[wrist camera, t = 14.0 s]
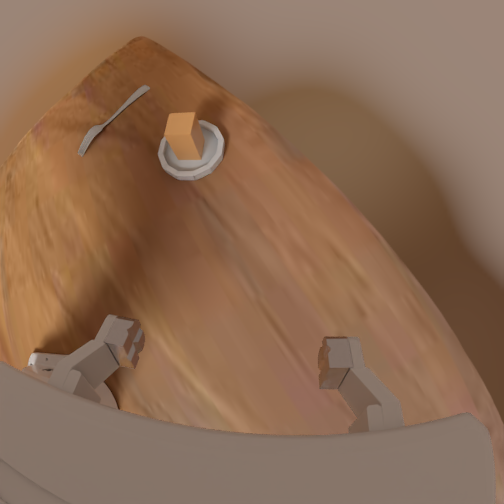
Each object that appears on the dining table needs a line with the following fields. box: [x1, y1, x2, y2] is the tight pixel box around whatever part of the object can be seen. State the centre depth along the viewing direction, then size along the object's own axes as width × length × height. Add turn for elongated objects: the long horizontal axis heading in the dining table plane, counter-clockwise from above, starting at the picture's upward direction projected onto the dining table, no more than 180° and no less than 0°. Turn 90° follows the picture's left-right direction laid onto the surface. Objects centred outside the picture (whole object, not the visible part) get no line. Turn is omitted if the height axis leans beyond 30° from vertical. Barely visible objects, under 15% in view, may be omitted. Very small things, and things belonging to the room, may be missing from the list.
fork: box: [78, 85, 150, 157], centre depth 48 cm, size 3×21×3 cm, turn 141°
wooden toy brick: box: [164, 112, 205, 160], centre depth 41 cm, size 4×4×8 cm
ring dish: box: [158, 120, 225, 180], centre depth 45 cm, size 11×11×2 cm
